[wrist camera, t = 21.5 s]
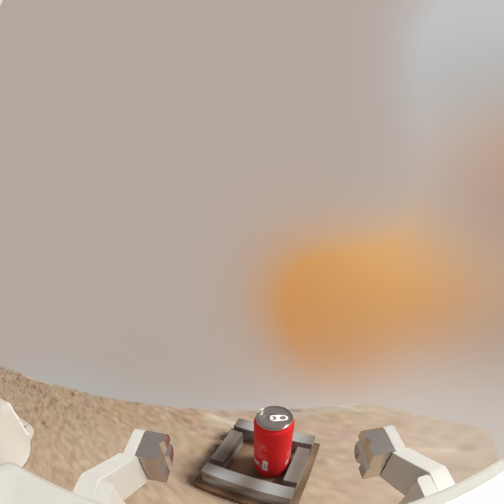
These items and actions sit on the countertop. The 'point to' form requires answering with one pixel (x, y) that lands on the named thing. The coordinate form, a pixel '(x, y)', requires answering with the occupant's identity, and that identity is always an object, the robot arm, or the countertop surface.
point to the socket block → (247, 477)
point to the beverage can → (272, 440)
